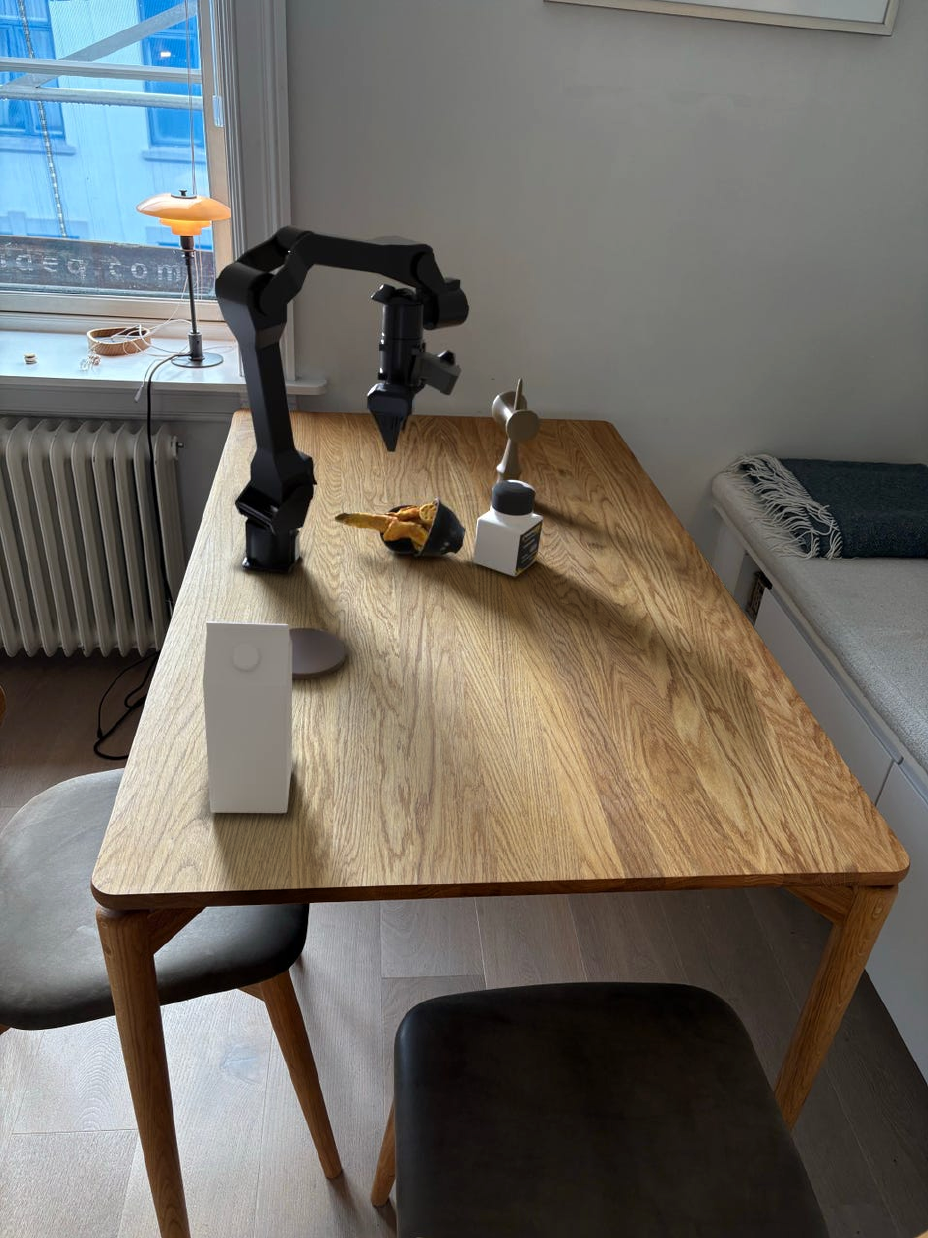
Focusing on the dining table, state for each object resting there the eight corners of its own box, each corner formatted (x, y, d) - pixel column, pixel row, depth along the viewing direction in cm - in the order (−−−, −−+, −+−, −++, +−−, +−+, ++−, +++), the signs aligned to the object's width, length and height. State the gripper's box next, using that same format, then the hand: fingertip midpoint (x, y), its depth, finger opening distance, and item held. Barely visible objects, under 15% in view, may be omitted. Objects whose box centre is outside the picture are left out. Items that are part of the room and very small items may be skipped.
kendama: (516, 483, 164) (531, 369, 154) (531, 507, 156) (547, 388, 146) (482, 483, 163) (495, 368, 153) (495, 507, 155) (510, 387, 145)
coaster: (249, 673, 109) (249, 667, 109) (273, 628, 118) (273, 622, 117) (335, 684, 109) (335, 678, 108) (352, 638, 117) (353, 633, 117)
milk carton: (220, 764, 95) (211, 601, 85) (292, 765, 96) (292, 604, 86) (210, 814, 89) (200, 644, 79) (287, 814, 90) (286, 646, 80)
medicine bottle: (515, 578, 135) (526, 500, 129) (472, 562, 138) (480, 486, 131) (537, 560, 140) (548, 484, 134) (495, 545, 143) (504, 471, 137)
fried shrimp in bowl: (470, 546, 132) (348, 499, 127) (441, 589, 140) (325, 547, 136) (478, 498, 137) (361, 452, 133) (449, 543, 146) (338, 501, 141)
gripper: (452, 359, 124) (442, 470, 132) (466, 324, 140) (457, 426, 148) (368, 349, 125) (364, 460, 133) (391, 316, 141) (386, 417, 149)
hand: (396, 440), depth 141 cm, fingers open, 9 cm apart
